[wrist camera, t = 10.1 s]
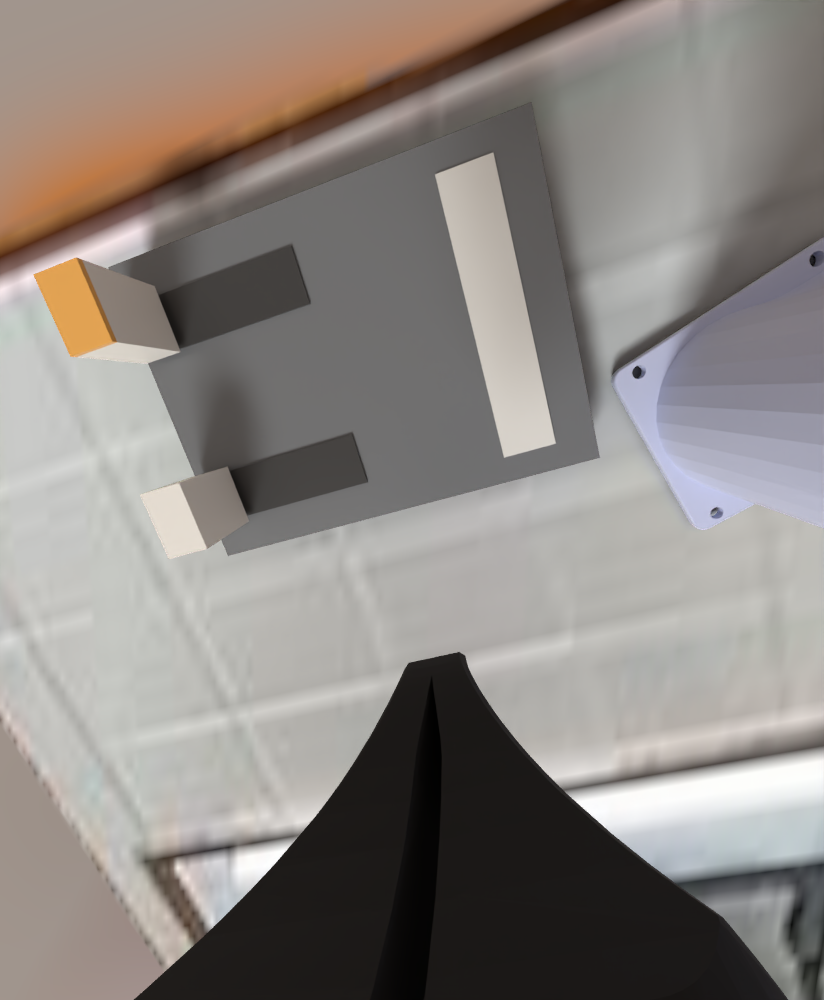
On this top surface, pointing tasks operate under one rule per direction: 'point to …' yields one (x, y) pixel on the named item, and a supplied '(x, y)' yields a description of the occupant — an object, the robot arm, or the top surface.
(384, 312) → the box
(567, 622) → the top surface
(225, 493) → the handle
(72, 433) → the top surface
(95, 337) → the breaker handle
